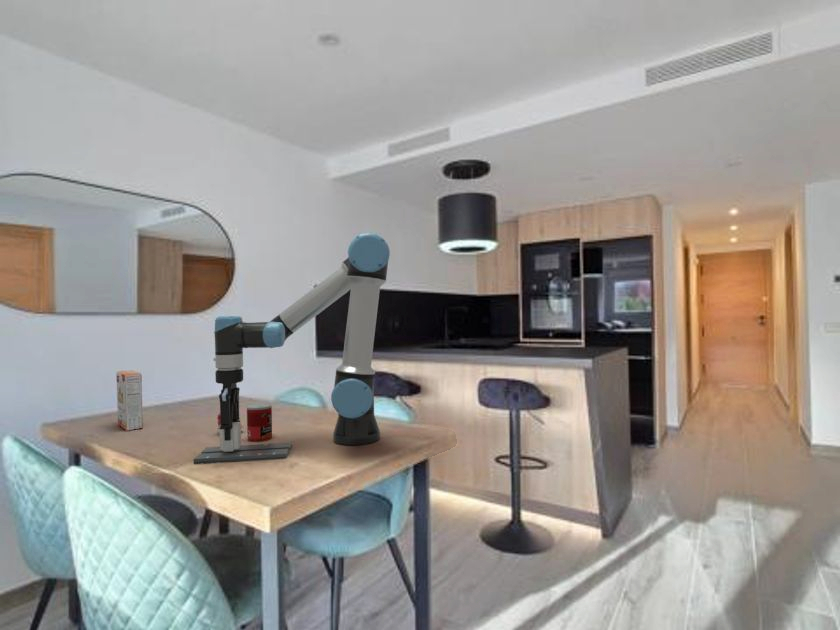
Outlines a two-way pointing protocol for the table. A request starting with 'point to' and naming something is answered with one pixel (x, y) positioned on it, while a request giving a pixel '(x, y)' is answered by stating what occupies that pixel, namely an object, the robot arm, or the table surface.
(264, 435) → the canned food
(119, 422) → the cracker box
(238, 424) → the fader
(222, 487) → the table surface
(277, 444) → the fader panel
